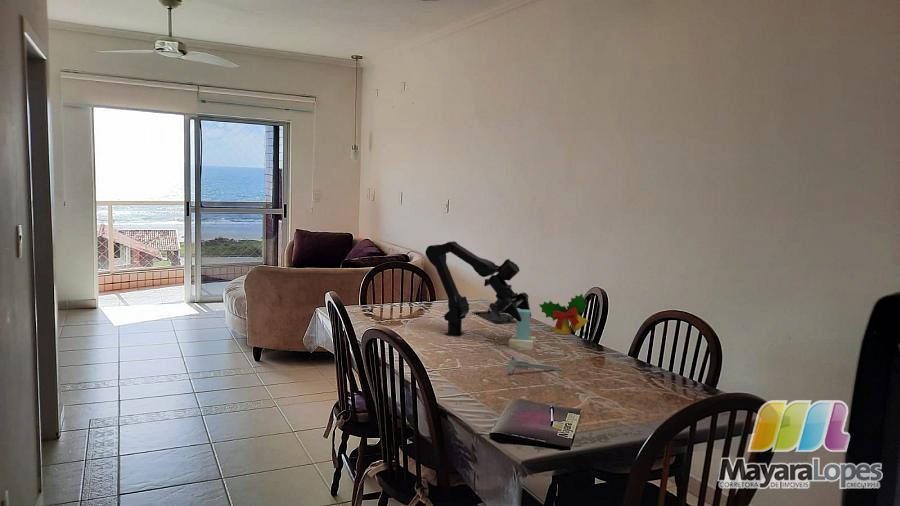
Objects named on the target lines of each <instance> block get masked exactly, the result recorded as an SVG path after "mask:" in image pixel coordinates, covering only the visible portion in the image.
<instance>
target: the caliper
mask: <svg viewBox="0 0 900 506" xmlns="http://www.w3.org/2000/svg"><path fill="white" fill-rule="evenodd" d="M519 368H520V369H522V370H528V369H537V370H538V369H539V370H548V371H554V372H557V371H564V368H562V367H561V366H559V365H550V364H543V363H542V364H541V363H535V362H530V361H527V360H521V359H518V357H517V356H513V355H511V358H509V361H508V364H507V374H508V375H511V373H512V374H513V375H516V374H517V372H518V370H519Z"/></svg>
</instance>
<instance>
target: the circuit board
mask: <svg viewBox="0 0 900 506" xmlns="http://www.w3.org/2000/svg"><path fill="white" fill-rule="evenodd" d="M473 313H474V314H473ZM471 314H473V315H475V314H476V315H475V316H477V315H478V317H479V316H480V318H481V317H482V319H484V320H486V321H488V322H491V323H493V324H494V325H507V324H517V320H516V319H514V318H513V317H512V316H511V315H509V314H507V313H500V314H497V313H495V312H492V310H490V307H488V310H487V311H472V312H471Z"/></svg>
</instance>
